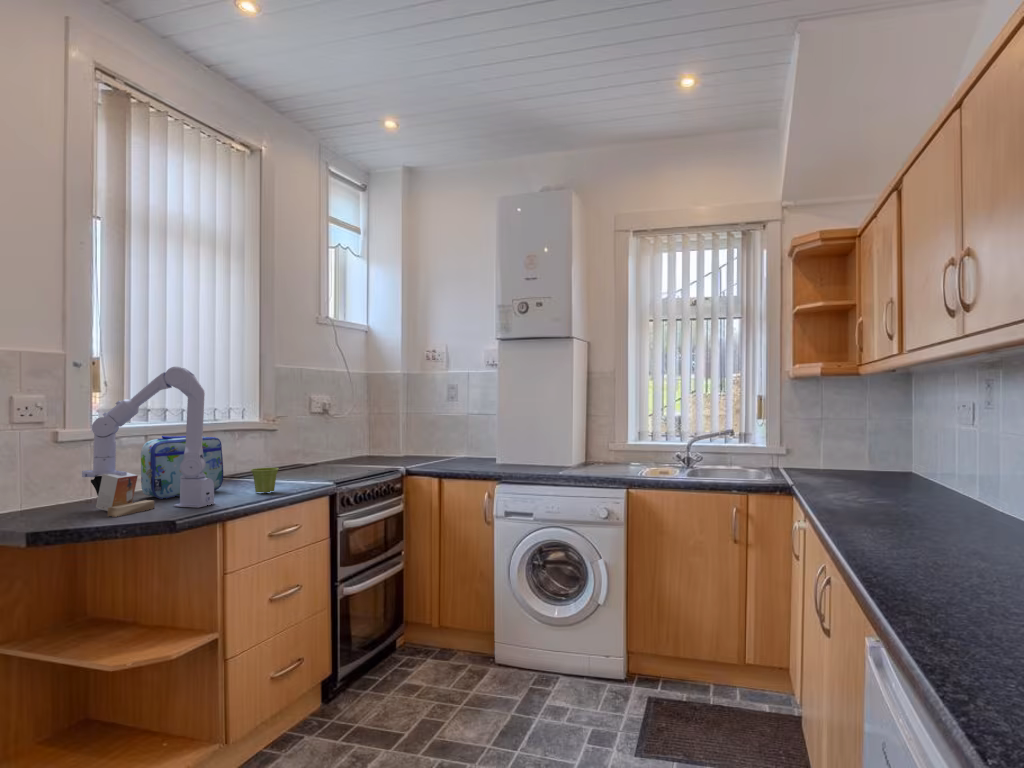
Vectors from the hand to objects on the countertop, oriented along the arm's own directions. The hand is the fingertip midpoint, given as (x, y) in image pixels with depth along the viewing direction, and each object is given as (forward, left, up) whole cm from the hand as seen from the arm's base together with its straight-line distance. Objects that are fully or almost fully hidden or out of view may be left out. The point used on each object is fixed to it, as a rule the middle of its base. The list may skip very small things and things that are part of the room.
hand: (103, 501), depth 193 cm
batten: (-12, +2, -2) cm, 12 cm away
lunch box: (-2, -31, -3) cm, 31 cm away
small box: (-4, 0, -2) cm, 4 cm away
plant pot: (-27, -42, -3) cm, 50 cm away
